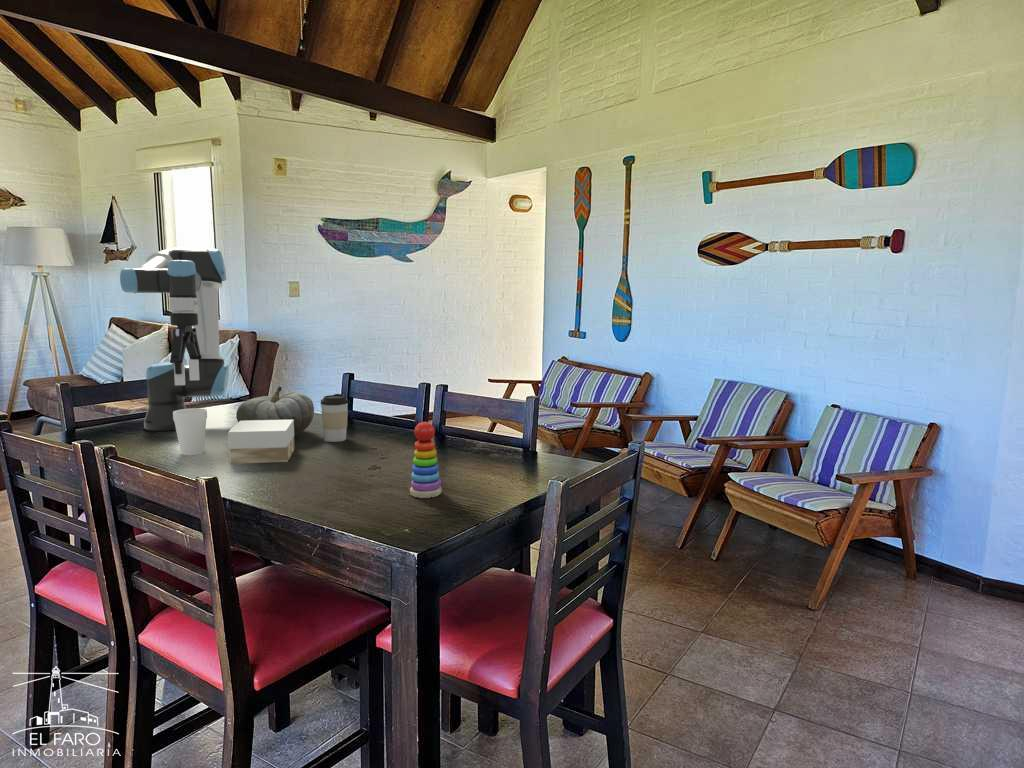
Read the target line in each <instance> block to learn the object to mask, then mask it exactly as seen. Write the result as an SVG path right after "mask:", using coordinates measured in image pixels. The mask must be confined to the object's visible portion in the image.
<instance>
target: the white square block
mask: <svg viewBox="0 0 1024 768" xmlns="http://www.w3.org/2000/svg"><path fill="white" fill-rule="evenodd" d="M293 436H294V420H246V421H239V422H238V421H237V422H236V424H235V425H234V426H233V427H232V428H230V429H229V431H228V432H227V437H228V449H229V450H230V449H244V448H281V447H287V446H288V444H289V443H290V441H291V439H292V438H293ZM294 437H295V436H294Z"/></svg>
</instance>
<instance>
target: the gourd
mask: <svg viewBox="0 0 1024 768" xmlns="http://www.w3.org/2000/svg"><path fill="white" fill-rule="evenodd" d="M282 388H283V387H282V386H280V385H279V386H277V389H276V391H275V393H274V394H273V395H272V396H269V395H262V396H258V397H253V398H251V399H247V400H246V401H244V402H242V403H241V404H240V405H239V406H238V407H237V410H236V421H237V423H238V422H239V421H246V420H294V437H296V436H298V435H300V434H301V433H303V432H304V431H305V430H306V429H307V428H309V426H310V425H311V423H312V422H313V420H314V415H315V406H314V402H313V400H312V399H311V398H310V397H309V396H307V395H305V394H304V393H299V392H297V391H287V392H283V393H282V394H280V392H281V391H282Z"/></svg>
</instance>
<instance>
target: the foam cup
mask: <svg viewBox="0 0 1024 768" xmlns="http://www.w3.org/2000/svg"><path fill="white" fill-rule="evenodd" d="M207 419H208V410H207V409H206V408H199V407H196V408H193V407H192V408H186V409H181V410H176V411H174V412H173V420H174V422H175V427H176V430H175V431H176V436H177V441H178V445H179V446H178V447H179V451H180V453H181V455H182V456H195V455H201V454H203V453H204V452H205V451H204V450H205V442H206V426H207Z"/></svg>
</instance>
